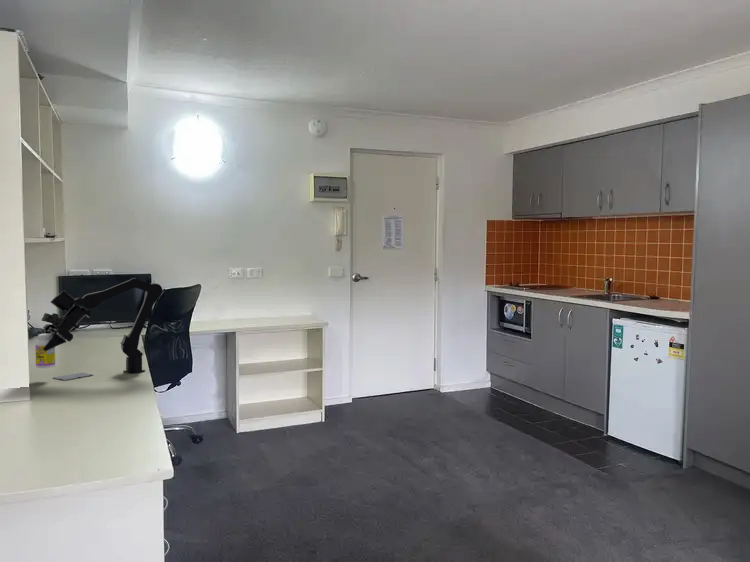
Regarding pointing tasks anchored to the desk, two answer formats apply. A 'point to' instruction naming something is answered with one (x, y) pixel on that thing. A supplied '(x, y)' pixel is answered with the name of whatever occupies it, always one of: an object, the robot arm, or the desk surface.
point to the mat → (72, 376)
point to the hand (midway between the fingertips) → (41, 349)
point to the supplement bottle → (44, 352)
